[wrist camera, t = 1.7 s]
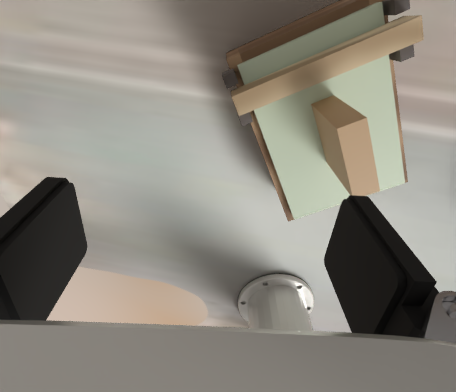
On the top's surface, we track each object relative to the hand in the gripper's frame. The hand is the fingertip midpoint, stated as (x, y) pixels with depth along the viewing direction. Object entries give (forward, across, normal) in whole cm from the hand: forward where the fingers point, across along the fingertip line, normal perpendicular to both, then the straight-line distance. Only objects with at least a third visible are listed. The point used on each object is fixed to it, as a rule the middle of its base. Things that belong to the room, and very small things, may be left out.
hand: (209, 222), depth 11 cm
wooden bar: (+17, -8, -4) cm, 19 cm away
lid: (+19, -10, +2) cm, 21 cm away
